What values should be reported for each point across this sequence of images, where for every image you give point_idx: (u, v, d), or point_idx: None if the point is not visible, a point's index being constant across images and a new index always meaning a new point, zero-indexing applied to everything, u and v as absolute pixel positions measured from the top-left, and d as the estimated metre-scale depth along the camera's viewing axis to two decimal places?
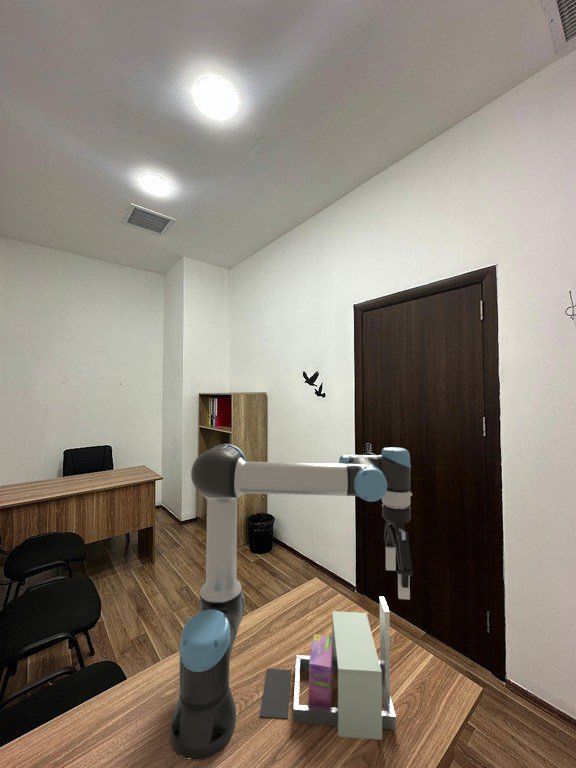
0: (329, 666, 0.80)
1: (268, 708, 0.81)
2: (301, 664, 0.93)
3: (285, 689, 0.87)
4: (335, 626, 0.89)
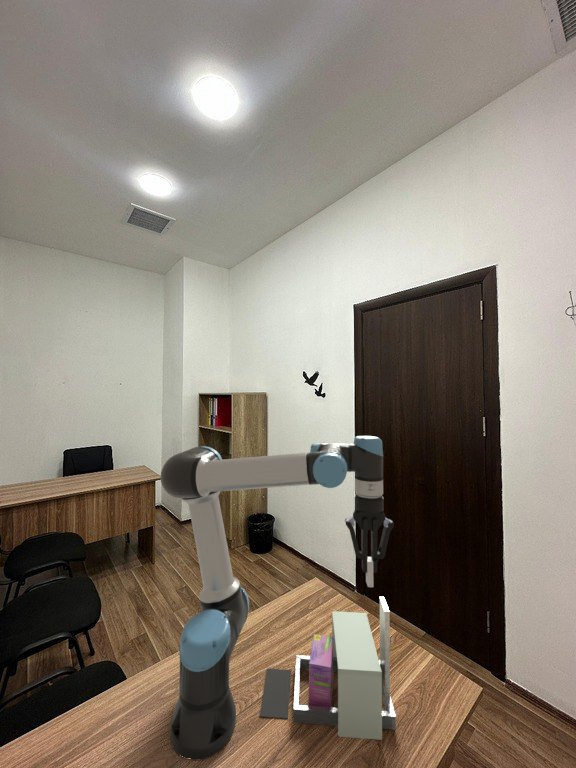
0: (329, 666, 0.80)
1: (268, 708, 0.81)
2: (301, 664, 0.93)
3: (285, 689, 0.87)
4: (335, 626, 0.89)
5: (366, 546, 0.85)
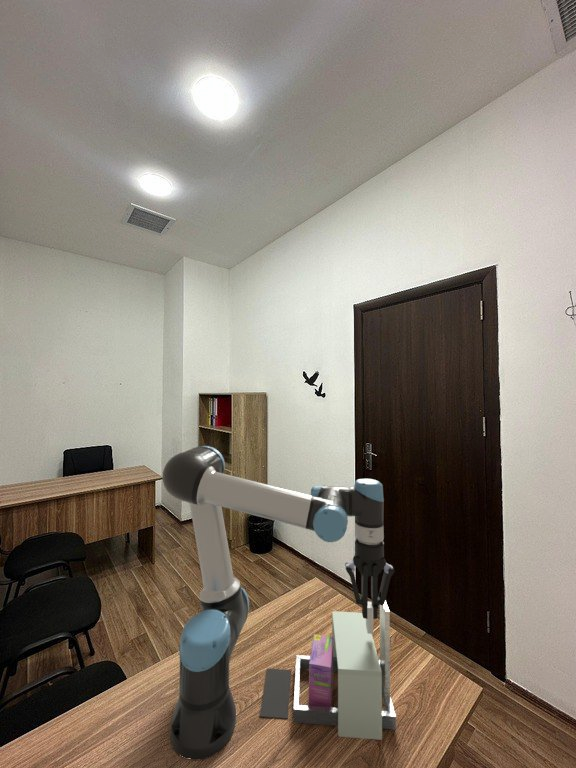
0: (329, 666, 0.80)
1: (268, 708, 0.81)
2: (301, 664, 0.93)
3: (285, 689, 0.87)
4: (335, 626, 0.89)
5: (366, 592, 0.84)
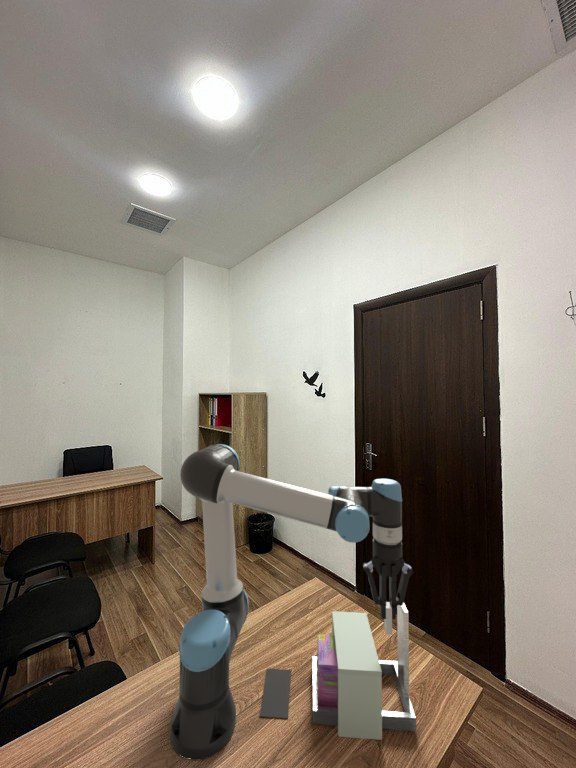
0: None
1: (268, 708, 0.81)
2: None
3: (285, 689, 0.87)
4: (335, 626, 0.89)
5: (385, 592, 0.84)
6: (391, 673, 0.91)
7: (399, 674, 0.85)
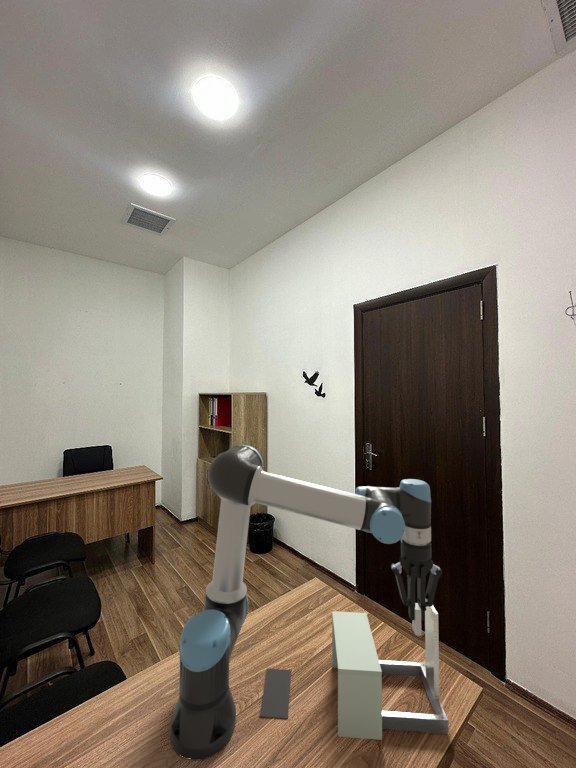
0: None
1: (268, 708, 0.81)
2: None
3: (285, 689, 0.87)
4: (335, 626, 0.89)
5: (414, 593, 0.83)
6: (418, 675, 0.90)
7: (428, 676, 0.85)
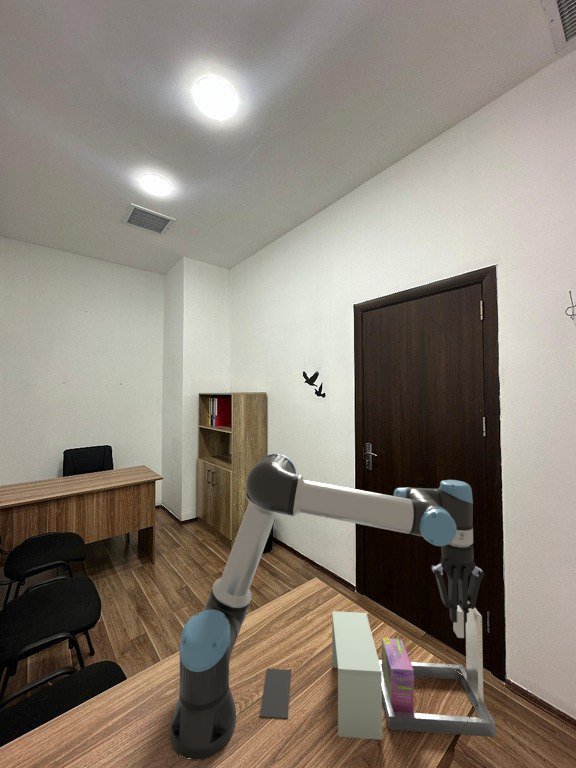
0: (411, 669, 0.80)
1: (268, 708, 0.81)
2: None
3: (285, 689, 0.87)
4: (335, 626, 0.89)
5: (456, 595, 0.83)
6: (457, 678, 0.90)
7: (469, 678, 0.84)
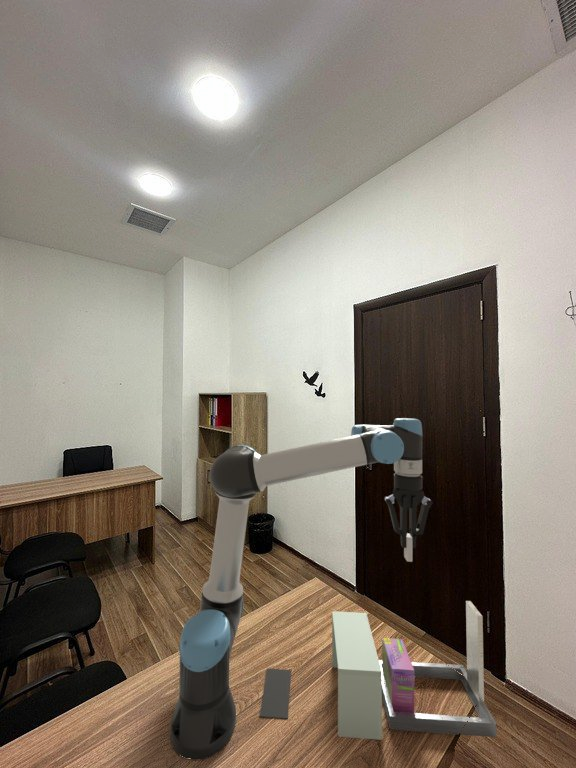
0: (412, 669, 0.80)
1: (268, 708, 0.81)
2: None
3: (285, 689, 0.87)
4: (335, 626, 0.89)
5: (405, 522, 0.89)
6: (457, 678, 0.90)
7: (470, 678, 0.84)
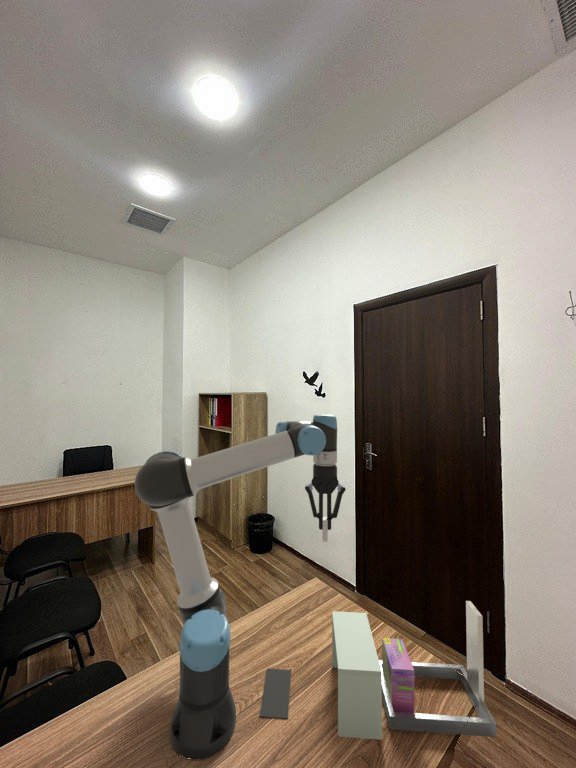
0: (412, 669, 0.80)
1: (268, 708, 0.81)
2: None
3: (285, 689, 0.87)
4: (335, 626, 0.89)
5: (322, 507, 1.00)
6: (457, 678, 0.90)
7: (470, 678, 0.84)
